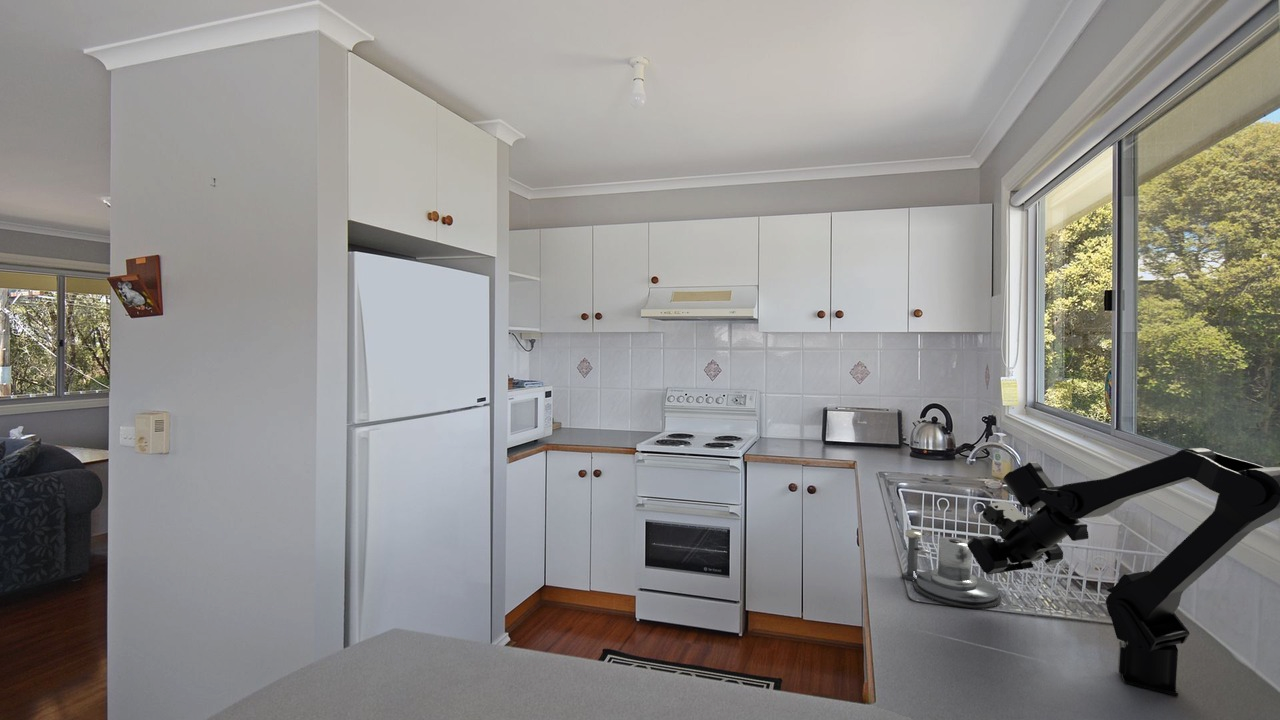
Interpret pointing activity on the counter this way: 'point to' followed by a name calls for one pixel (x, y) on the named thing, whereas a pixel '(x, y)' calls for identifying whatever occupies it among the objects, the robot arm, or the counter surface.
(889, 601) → the counter surface
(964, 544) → the cover
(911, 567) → the stand
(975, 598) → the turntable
